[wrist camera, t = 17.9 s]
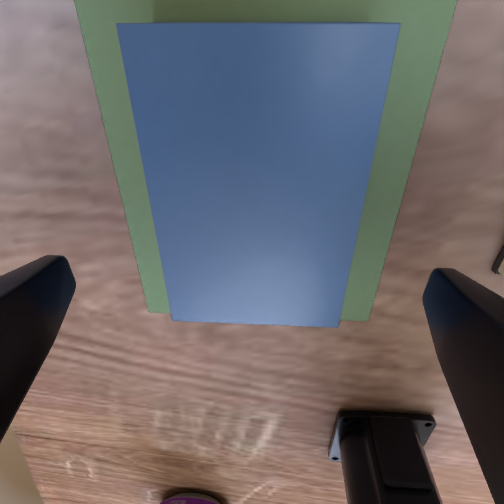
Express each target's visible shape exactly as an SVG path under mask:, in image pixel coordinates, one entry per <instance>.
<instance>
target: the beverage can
mask: <svg viewBox="0 0 504 504" xmlns="http://www.w3.org/2000/svg"><path fill="white" fill-rule="evenodd" d="M160 504H220V503H219V502H218V501H217V500H216V499H214V498H212V497H210V496H207V495H204V494H199V493H180V494H176V495H174V496H173V497H171V498H168V499H166V500H164V501H162V502H161V503H160Z"/></svg>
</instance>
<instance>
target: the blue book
mask: <svg viewBox="0 0 504 504" xmlns="http://www.w3.org/2000/svg"><path fill="white" fill-rule="evenodd" d="M400 26H401V23H392V22H151V23H116V28H117V33H118V39H119V44H120V49H121V54H122V60H123V65H124V70H125V75H126V80H127V86H128V91H129V96H130V101H131V107H132V112H133V117H134V122H135V128H136V133H137V138H138V143H139V149H140V154H141V159H142V164H143V170H144V175H145V180H146V185H147V191H148V196H149V201H150V206H151V211H152V217H153V222H154V227H155V232H156V238H157V243H158V248H159V253H160V259H161V264H162V269H163V274H164V280H165V285H166V290H167V295H168V301H169V306H170V311H171V316H172V321H188V322H213V323H237V324H261V325H286V326H310V327H335V328H338V326H339V321H340V316H341V312H342V307H343V302H344V297H345V292H346V287H347V283H348V278H349V273H350V268H351V263H352V258H353V253H354V249H355V244H356V239H357V234H358V229H359V224H360V220H361V215H362V210H363V205H364V200H365V195H366V191H367V186H368V181H369V176H370V171H371V166H372V162H373V157H374V152H375V147H376V142H377V137H378V132H379V128H380V123H381V118H382V113H383V108H384V103H385V99H386V94H387V89H388V84H389V79H390V74H391V70H392V65H393V60H394V55H395V50H396V45H397V41H398V36H399V31H400Z"/></svg>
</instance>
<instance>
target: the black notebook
mask: <svg viewBox="0 0 504 504" xmlns="http://www.w3.org/2000/svg"><path fill="white" fill-rule="evenodd" d="M492 271H493V272H494V273H495V274H501V275H502V276H503V277H504V247H503V249H502V251H501V253H500V255H499V257H498V259H497V261H496V263H495V265H494V267H493V269H492Z"/></svg>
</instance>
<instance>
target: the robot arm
mask: <svg viewBox="0 0 504 504" xmlns="http://www.w3.org/2000/svg"><path fill="white" fill-rule="evenodd" d="M75 288H76V282H75V278H74V276H73V273H72V271H71V268H70V265H69V263H68V260H67V259H66V258H65V257H64V256H60V255H46V256H44V257H41V258H39V259H37V260H35V261H33V262H31V263H28V264H26V265H24V266H22V267H20V268H17V269H15V270H13V271H11V272H9V273H6V274H4V275H2V276H0V443H1V441H2V439H3V437H4V435H5V433H6V431H7V430H8V428H9V426H10V424H11V422H12V420H13V418H14V417H15V415H16V413H17V411H18V409H19V407H20V405H21V403H22V402H23V400H24V398H25V396H26V394H27V392H28V390H29V388H30V387H31V385H32V383H33V381H34V379H35V377H36V375H37V374H38V372H39V370H40V368H41V366H42V364H43V362H44V360H45V359H46V357H47V355H48V353H49V351H50V349H51V347H52V345H53V343H54V341H55V339H56V336H57V334H58V332H59V329H60V327H61V324H62V322H63V319H64V317H65V314H66V312H67V309H68V307H69V304H70V302H71V299H72V297H73V295H74V292H75ZM423 305H424V309H425V313H426V316H427V320H428V324H429V328H430V331H431V335H432V339H433V343H434V346H435V350H436V353H437V357H438V360H439V363H440V365H441V368H442V371H443V373H444V376H445V378H446V381H447V383H448V386H449V388H450V391H451V393H452V396H453V399H454V401H455V404H456V406H457V409H458V411H459V414H460V416H461V419H462V421H463V424H464V426H465V429H466V431H467V434H468V436H469V439H470V441H471V444H472V446H473V449H474V452H475V454H476V457H477V459H478V462H479V464H480V467H481V469H482V472H483V474H484V477H485V479H486V482H487V484H488V487H489V489H490V492H491V494H492V497H493V499H494V502H495V504H504V298H503V297H501V296H499V295H498V294H496V293H494V292H493V291H491V290H489V289H488V288H486V287H484V286H482V285H481V284H479V283H477V282H476V281H474V280H472V279H470V278H469V277H467V276H465V275H464V274H462V273H460V272H459V271H457V270H455V269H452V268H436V269H434V270H433V271H432V273H431V275H430V277H429V280H428V283H427V285H426V288H425V291H424V293H423ZM435 426H436V421H435V419H434V417H433V416H431V415H418V414H399V413H381V412H362V411H341V412H340V413H339V414H338V417H337V421H336V425H335V428H334V432H333V436H332V440H331V443H330V447H329V451H328V456H329V460H330V461H334V462H341V463H342V469H343V476H344V483H345V489H346V496H347V503H348V504H443V503H442V500H441V497H440V494H439V491H438V489H437V486H436V483H435V480H434V477H433V474H432V471H431V468H430V465H429V463H428V460H427V457H426V454H425V451H424V448H423V447H424V445H425V443H426V442H427V440H428V438H429V436H430V435H431V433H432V431H433V430H434V428H435Z"/></svg>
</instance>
